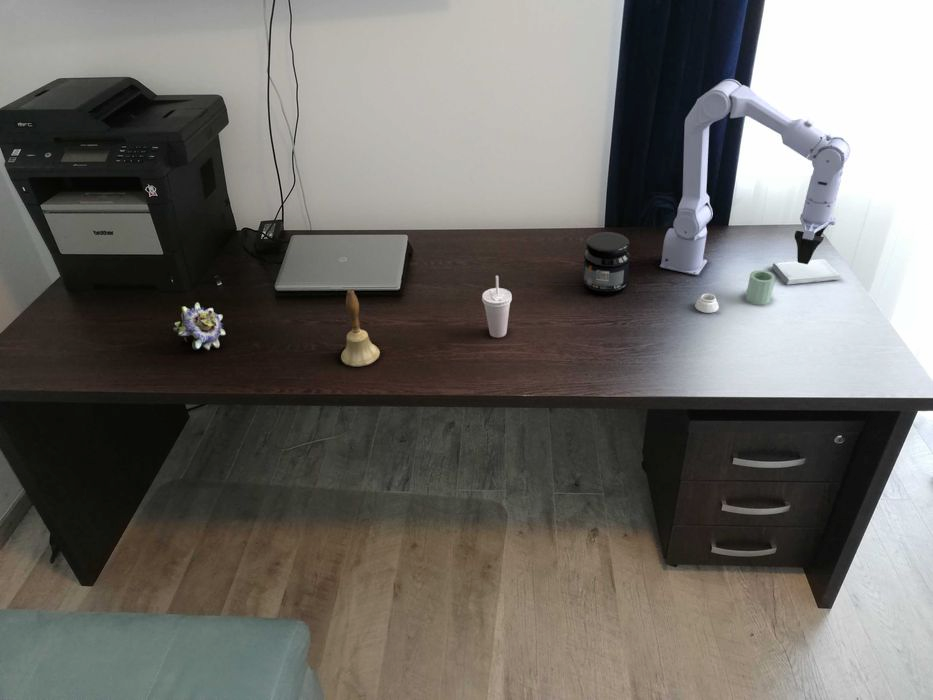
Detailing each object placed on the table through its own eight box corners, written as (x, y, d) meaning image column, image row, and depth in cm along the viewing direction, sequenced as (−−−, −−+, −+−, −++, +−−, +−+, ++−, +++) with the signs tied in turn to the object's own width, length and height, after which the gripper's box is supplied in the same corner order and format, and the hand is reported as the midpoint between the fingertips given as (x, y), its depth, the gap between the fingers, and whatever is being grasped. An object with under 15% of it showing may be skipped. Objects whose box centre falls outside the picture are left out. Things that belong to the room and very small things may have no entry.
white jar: (693, 312, 160) (717, 315, 159) (695, 301, 158) (719, 304, 157) (696, 301, 164) (719, 304, 162) (697, 289, 162) (721, 292, 161)
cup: (743, 301, 163) (747, 278, 159) (749, 290, 166) (753, 268, 163) (766, 307, 160) (772, 284, 157) (772, 296, 164) (777, 273, 160)
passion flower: (222, 366, 162) (204, 349, 151) (176, 356, 163) (155, 339, 151) (237, 320, 166) (221, 301, 154) (191, 311, 166) (172, 291, 155)
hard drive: (788, 279, 166) (840, 274, 167) (773, 262, 173) (823, 257, 173) (787, 285, 167) (838, 280, 168) (771, 268, 174) (821, 263, 174)
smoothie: (516, 327, 159) (515, 271, 151) (507, 343, 154) (506, 287, 146) (488, 323, 161) (486, 268, 153) (479, 338, 156) (476, 283, 148)
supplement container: (614, 271, 177) (617, 227, 170) (635, 291, 168) (640, 246, 162) (575, 280, 174) (577, 235, 167) (595, 301, 166) (597, 255, 159)
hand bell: (344, 344, 157) (332, 281, 148) (382, 343, 157) (372, 280, 147) (338, 367, 150) (325, 303, 141) (377, 366, 150) (366, 301, 141)
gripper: (835, 214, 144) (819, 273, 152) (847, 188, 154) (831, 245, 162) (798, 208, 147) (784, 266, 155) (811, 183, 157) (798, 238, 165)
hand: (806, 255), depth 159 cm, fingers open, 7 cm apart
